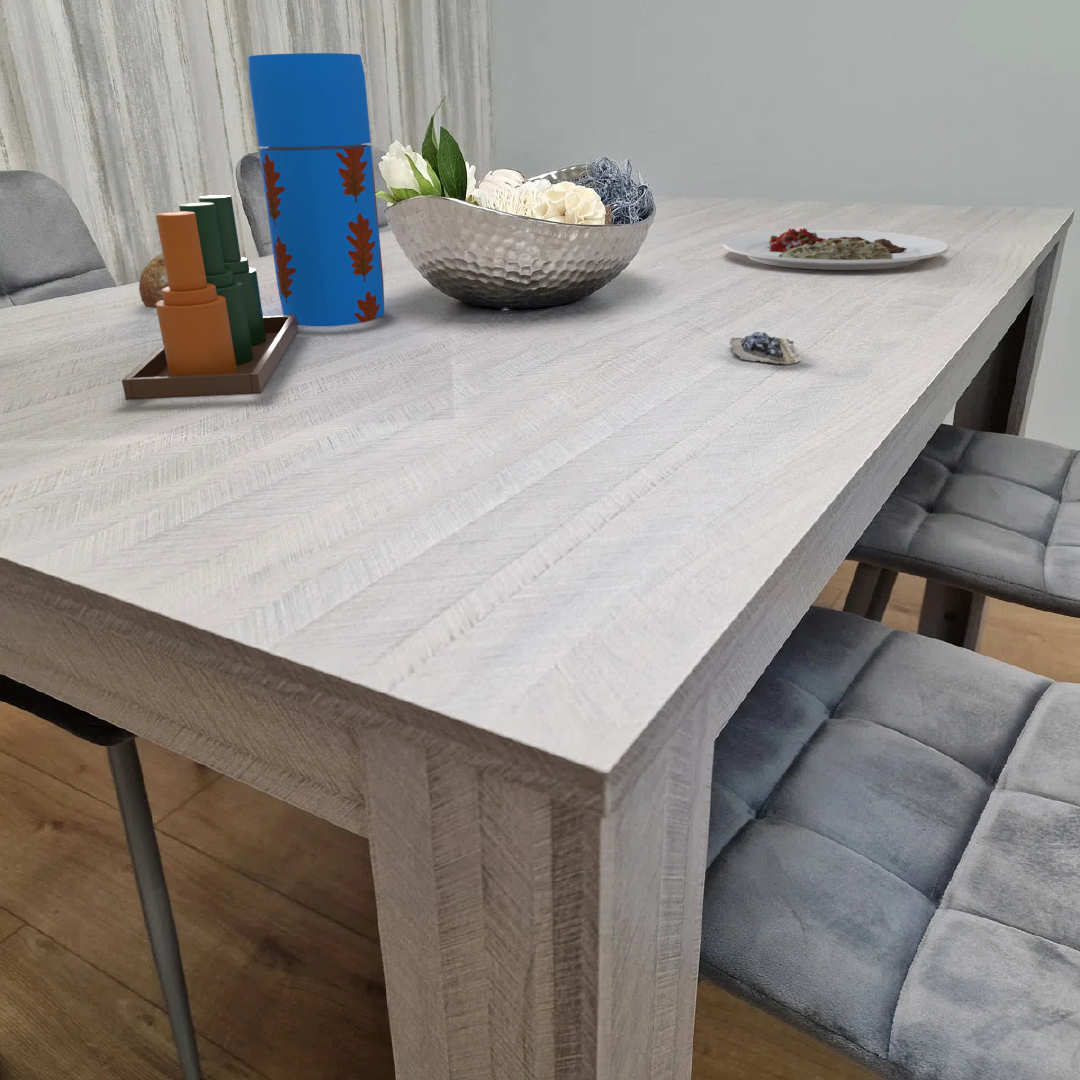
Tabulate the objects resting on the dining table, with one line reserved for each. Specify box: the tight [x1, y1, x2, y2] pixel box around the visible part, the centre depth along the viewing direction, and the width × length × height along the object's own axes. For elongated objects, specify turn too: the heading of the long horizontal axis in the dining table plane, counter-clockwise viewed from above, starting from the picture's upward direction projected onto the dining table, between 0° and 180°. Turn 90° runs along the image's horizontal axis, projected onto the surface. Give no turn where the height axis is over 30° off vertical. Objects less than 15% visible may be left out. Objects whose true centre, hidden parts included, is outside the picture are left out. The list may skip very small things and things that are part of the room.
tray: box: [121, 315, 299, 401], centre depth 82 cm, size 10×22×2 cm, turn 6°
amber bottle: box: [155, 211, 237, 376], centre depth 73 cm, size 5×5×13 cm
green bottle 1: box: [178, 202, 253, 365], centre depth 80 cm, size 5×5×13 cm
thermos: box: [247, 52, 385, 327], centre depth 94 cm, size 11×11×25 cm
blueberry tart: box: [729, 331, 802, 366], centre depth 83 cm, size 7×8×2 cm
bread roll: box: [138, 252, 169, 308], centre depth 109 cm, size 10×10×8 cm
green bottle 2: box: [198, 194, 266, 346], centre depth 86 cm, size 5×5×13 cm
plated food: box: [723, 227, 949, 271], centre depth 131 cm, size 30×30×3 cm
